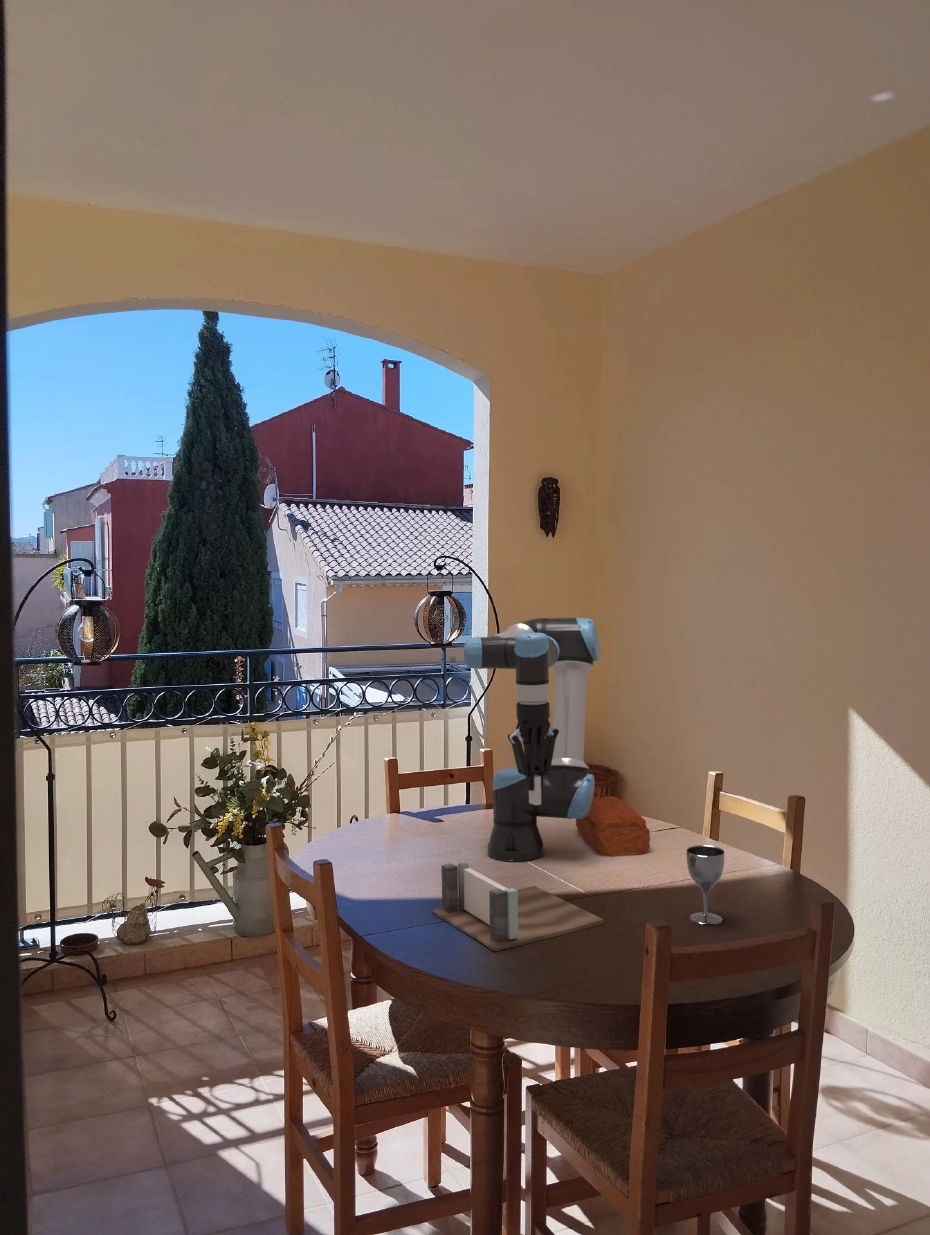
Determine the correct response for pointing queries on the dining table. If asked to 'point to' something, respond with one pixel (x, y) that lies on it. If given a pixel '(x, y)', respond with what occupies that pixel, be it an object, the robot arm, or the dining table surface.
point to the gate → (484, 897)
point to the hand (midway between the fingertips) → (535, 803)
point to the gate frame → (535, 915)
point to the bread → (614, 828)
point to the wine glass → (705, 876)
